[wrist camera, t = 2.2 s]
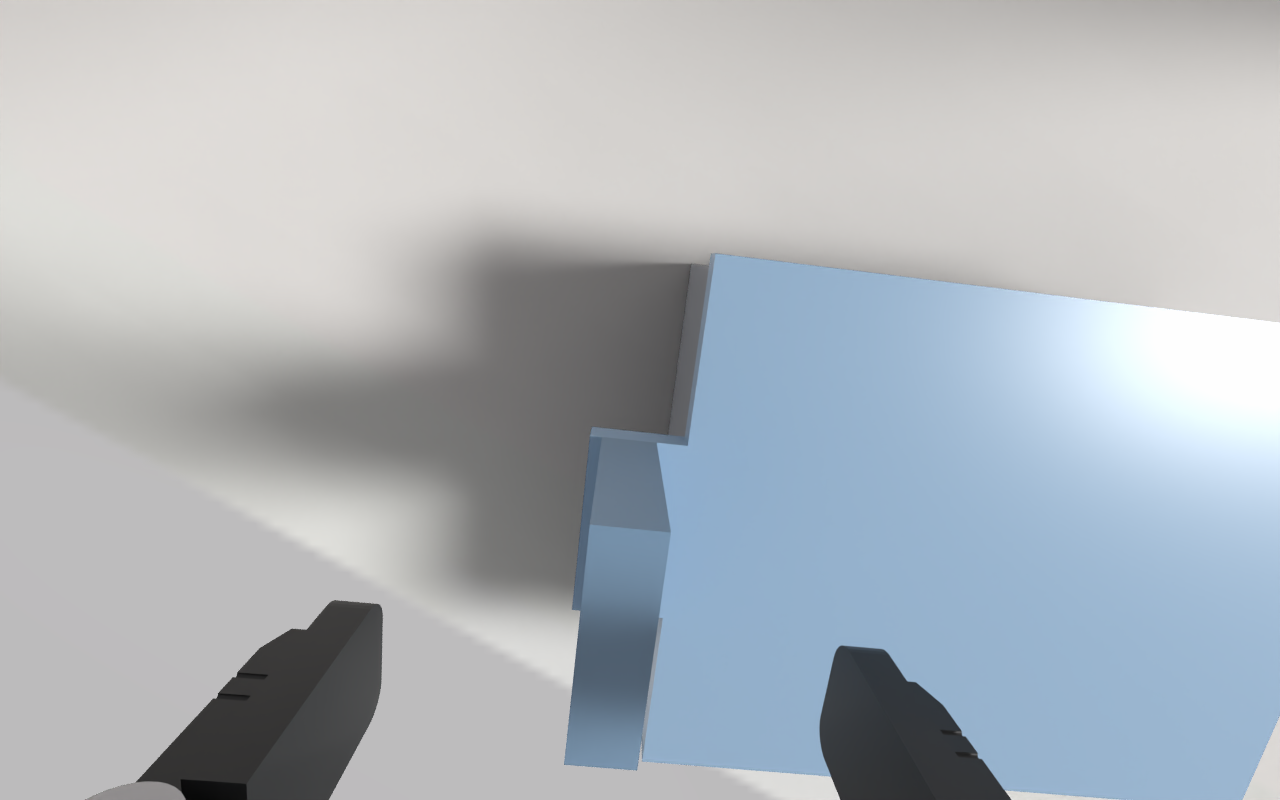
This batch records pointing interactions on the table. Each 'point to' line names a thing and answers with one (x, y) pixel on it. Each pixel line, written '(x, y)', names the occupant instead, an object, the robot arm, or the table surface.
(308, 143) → the table surface
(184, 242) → the table surface
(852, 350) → the tub lid
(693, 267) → the parts tub
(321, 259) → the table surface
